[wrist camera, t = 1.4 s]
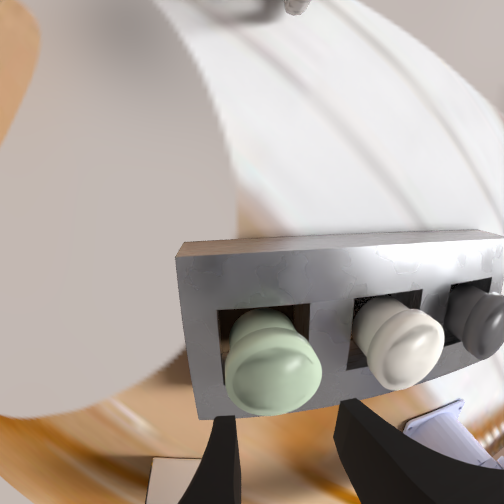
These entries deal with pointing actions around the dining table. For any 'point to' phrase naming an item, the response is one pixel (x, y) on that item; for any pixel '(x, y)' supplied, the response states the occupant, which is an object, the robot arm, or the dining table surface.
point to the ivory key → (397, 341)
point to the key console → (326, 299)
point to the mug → (296, 6)
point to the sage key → (269, 364)
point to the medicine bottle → (169, 479)
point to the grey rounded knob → (476, 319)
